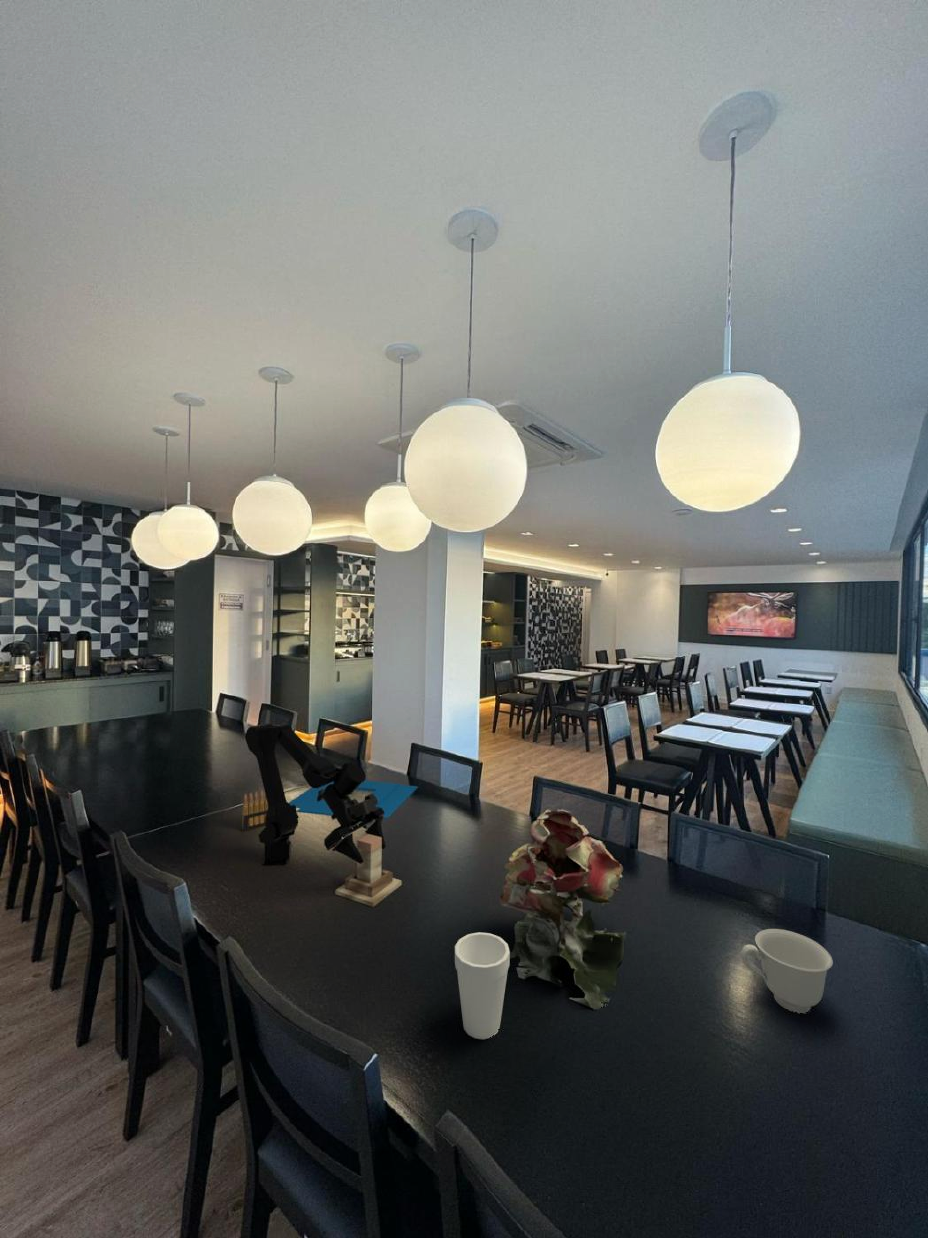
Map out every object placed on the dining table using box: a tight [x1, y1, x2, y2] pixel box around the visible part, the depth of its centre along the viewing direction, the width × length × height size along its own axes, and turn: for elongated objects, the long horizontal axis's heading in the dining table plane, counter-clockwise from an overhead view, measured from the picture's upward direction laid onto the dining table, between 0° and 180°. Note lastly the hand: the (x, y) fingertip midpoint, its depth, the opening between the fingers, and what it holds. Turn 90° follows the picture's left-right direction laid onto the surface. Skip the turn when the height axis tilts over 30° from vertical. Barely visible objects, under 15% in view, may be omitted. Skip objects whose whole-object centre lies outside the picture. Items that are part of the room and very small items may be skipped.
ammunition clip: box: [240, 789, 268, 832], centre depth 171 cm, size 11×2×12 cm, turn 131°
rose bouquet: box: [499, 809, 627, 1011], centre depth 108 cm, size 26×29×30 cm
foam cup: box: [454, 931, 511, 1040], centre depth 89 cm, size 10×9×13 cm
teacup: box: [740, 928, 834, 1014], centre depth 95 cm, size 12×15×10 cm
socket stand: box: [334, 868, 403, 908], centre depth 132 cm, size 12×12×4 cm
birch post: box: [356, 833, 383, 884], centre depth 132 cm, size 4×4×12 cm
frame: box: [288, 780, 419, 819], centre depth 199 cm, size 42×36×2 cm
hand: (373, 855), depth 132 cm, fingers open, 9 cm apart
